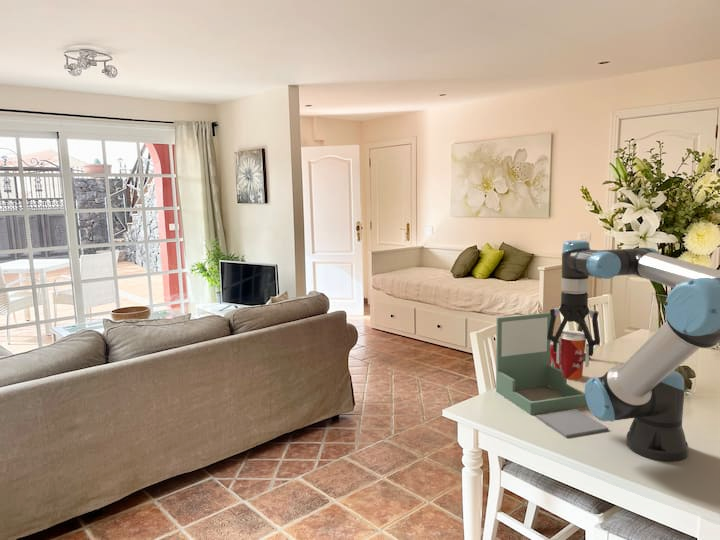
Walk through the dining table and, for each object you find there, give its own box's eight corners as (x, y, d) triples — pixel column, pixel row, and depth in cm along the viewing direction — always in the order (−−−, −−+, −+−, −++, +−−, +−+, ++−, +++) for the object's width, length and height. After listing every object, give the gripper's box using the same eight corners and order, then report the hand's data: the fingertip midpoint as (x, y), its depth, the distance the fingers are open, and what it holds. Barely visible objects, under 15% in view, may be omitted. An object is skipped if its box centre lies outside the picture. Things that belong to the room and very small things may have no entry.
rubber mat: (608, 430, 157) (608, 427, 157) (565, 437, 153) (566, 435, 153) (575, 411, 172) (575, 409, 172) (536, 417, 168) (536, 415, 168)
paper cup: (581, 382, 155) (583, 337, 153) (555, 378, 160) (556, 334, 158) (588, 375, 161) (589, 331, 159) (563, 371, 166) (564, 328, 164)
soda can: (567, 372, 209) (567, 341, 207) (563, 378, 203) (563, 346, 201) (548, 370, 213) (549, 339, 211) (544, 375, 207) (545, 343, 205)
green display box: (587, 406, 176) (589, 325, 172) (530, 414, 170) (531, 332, 166) (547, 384, 197) (549, 312, 193) (496, 391, 191) (496, 317, 187)
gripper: (612, 291, 155) (610, 364, 158) (541, 287, 165) (540, 356, 168) (610, 295, 149) (608, 372, 152) (537, 291, 159) (535, 363, 162)
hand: (572, 363), depth 160 cm, fingers closed on paper cup, 8 cm apart
